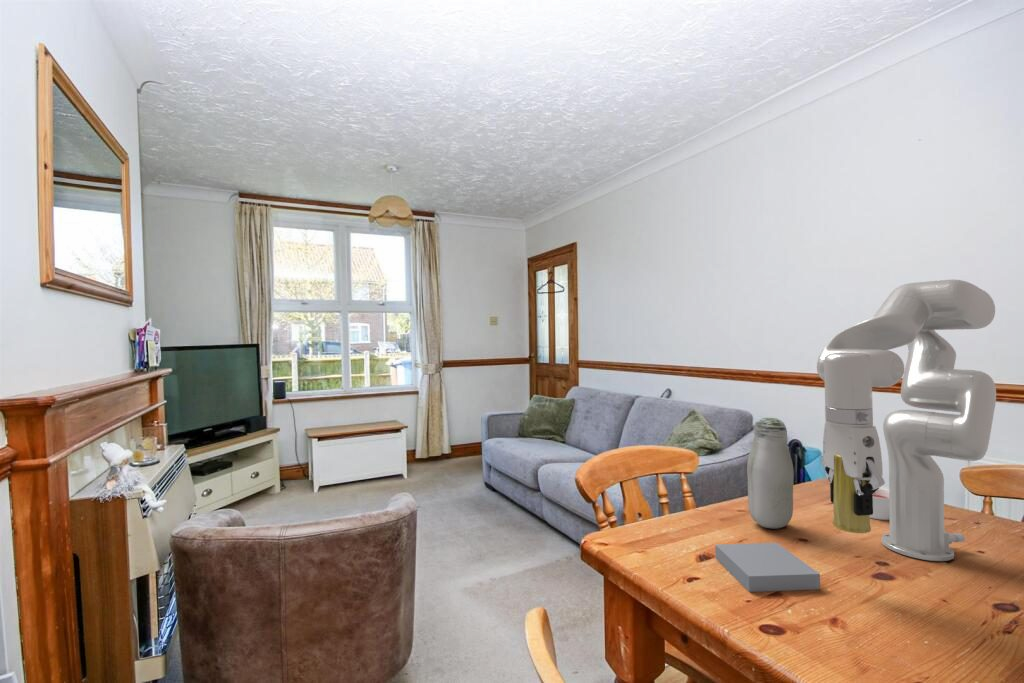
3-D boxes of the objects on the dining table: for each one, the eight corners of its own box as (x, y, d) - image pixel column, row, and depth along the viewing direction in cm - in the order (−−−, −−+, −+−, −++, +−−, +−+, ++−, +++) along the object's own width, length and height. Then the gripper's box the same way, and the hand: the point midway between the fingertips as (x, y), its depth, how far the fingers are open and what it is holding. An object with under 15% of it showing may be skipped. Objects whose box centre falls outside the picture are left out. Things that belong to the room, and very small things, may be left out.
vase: (878, 534, 89) (876, 459, 88) (841, 533, 90) (839, 458, 89) (861, 521, 95) (859, 450, 94) (827, 520, 96) (825, 450, 95)
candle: (906, 521, 123) (906, 497, 123) (871, 522, 124) (871, 498, 124) (880, 509, 132) (879, 486, 132) (847, 509, 133) (847, 487, 132)
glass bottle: (768, 536, 116) (767, 422, 116) (740, 520, 126) (739, 415, 126) (803, 532, 118) (801, 420, 118) (772, 517, 128) (771, 414, 128)
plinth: (777, 556, 106) (776, 542, 106) (820, 589, 92) (819, 573, 92) (715, 558, 105) (715, 544, 105) (749, 591, 91) (748, 576, 91)
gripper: (905, 423, 83) (908, 525, 84) (835, 407, 100) (838, 492, 101) (864, 426, 83) (866, 527, 83) (801, 409, 100) (803, 494, 101)
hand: (851, 507), depth 92 cm, fingers closed on vase, 5 cm apart
